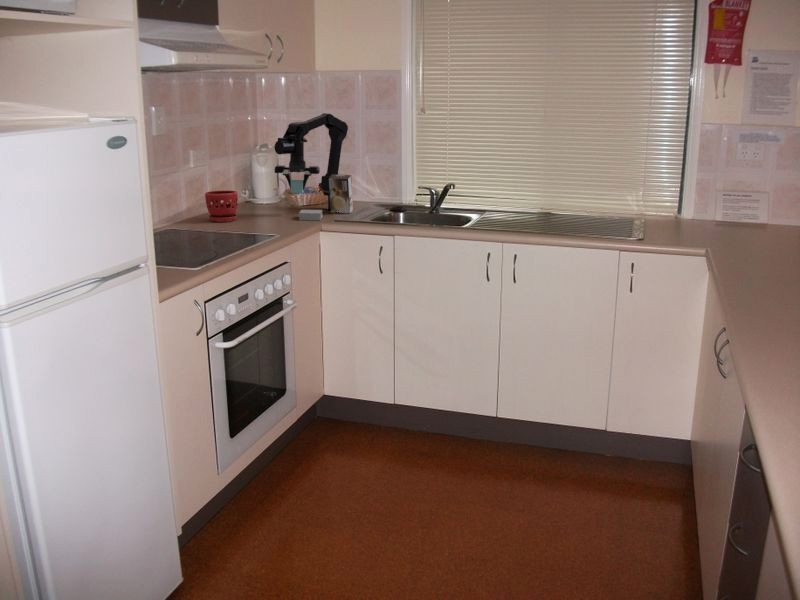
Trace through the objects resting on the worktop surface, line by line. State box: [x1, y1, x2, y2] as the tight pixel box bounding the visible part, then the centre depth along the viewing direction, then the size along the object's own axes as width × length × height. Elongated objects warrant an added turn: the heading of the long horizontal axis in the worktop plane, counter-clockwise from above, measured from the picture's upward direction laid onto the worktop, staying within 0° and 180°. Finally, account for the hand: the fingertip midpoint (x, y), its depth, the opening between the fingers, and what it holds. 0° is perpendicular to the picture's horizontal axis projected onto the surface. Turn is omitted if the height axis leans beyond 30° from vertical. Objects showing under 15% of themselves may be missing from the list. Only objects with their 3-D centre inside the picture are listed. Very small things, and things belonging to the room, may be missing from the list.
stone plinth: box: [298, 209, 323, 221], centre depth 341 cm, size 9×9×3 cm
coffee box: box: [329, 174, 354, 214], centre depth 355 cm, size 9×6×16 cm
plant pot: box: [204, 190, 239, 223], centre depth 332 cm, size 13×13×12 cm
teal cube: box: [290, 179, 305, 194], centre depth 346 cm, size 5×5×5 cm
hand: (297, 189), depth 346 cm, fingers closed on teal cube, 5 cm apart
